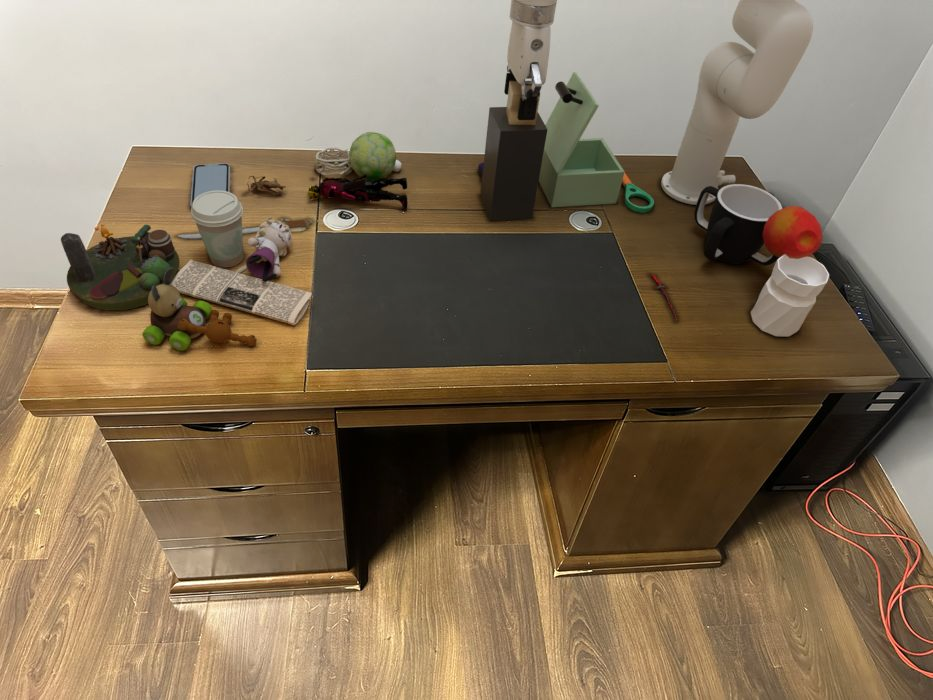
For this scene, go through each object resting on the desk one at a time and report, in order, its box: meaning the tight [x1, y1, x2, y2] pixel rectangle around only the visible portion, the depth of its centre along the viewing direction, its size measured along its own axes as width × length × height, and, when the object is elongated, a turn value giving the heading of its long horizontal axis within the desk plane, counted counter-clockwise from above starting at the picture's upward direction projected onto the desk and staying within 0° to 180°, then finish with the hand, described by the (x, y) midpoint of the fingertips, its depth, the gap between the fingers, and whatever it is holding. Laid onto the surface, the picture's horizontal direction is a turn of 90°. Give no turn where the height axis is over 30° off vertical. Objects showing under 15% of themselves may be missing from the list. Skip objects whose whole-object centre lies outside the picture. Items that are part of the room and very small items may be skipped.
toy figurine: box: [178, 309, 258, 347], centre depth 111 cm, size 12×4×7 cm
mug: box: [693, 183, 783, 266], centre depth 134 cm, size 16×16×12 cm
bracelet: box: [314, 146, 354, 177], centre depth 147 cm, size 4×8×8 cm
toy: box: [234, 216, 293, 282], centre depth 124 cm, size 8×10×15 cm
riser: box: [479, 106, 548, 222], centre depth 137 cm, size 9×9×20 cm
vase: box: [750, 254, 830, 338], centre depth 121 cm, size 9×9×12 cm
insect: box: [247, 175, 287, 196], centre depth 140 cm, size 4×8×5 cm
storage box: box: [538, 137, 626, 208], centre depth 148 cm, size 15×14×8 cm
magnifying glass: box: [621, 172, 655, 214], centre depth 151 cm, size 15×6×2 cm, turn 14°
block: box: [505, 81, 541, 125], centre depth 127 cm, size 5×5×6 cm
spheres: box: [392, 159, 403, 173], centre depth 153 cm, size 15×2×2 cm
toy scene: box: [60, 222, 180, 311], centre depth 116 cm, size 18×18×11 cm
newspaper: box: [170, 259, 313, 326], centre depth 119 cm, size 24×7×2 cm, turn 73°
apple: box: [763, 205, 824, 259], centre depth 121 cm, size 9×9×12 cm
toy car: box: [141, 268, 213, 352], centre depth 109 cm, size 9×9×11 cm
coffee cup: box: [190, 190, 245, 268], centre depth 122 cm, size 8×8×12 cm
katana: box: [651, 274, 678, 322], centre depth 128 cm, size 13×2×1 cm, turn 8°
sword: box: [177, 217, 313, 241], centre depth 132 cm, size 25×1×5 cm
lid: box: [544, 71, 600, 174], centre depth 138 cm, size 15×14×5 cm
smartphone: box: [190, 162, 231, 208], centre depth 140 cm, size 7×1×15 cm
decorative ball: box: [348, 131, 397, 181], centre depth 144 cm, size 10×10×10 cm
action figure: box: [303, 174, 409, 211], centre depth 140 cm, size 15×6×20 cm
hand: (519, 106), depth 128 cm, fingers open, 9 cm apart
